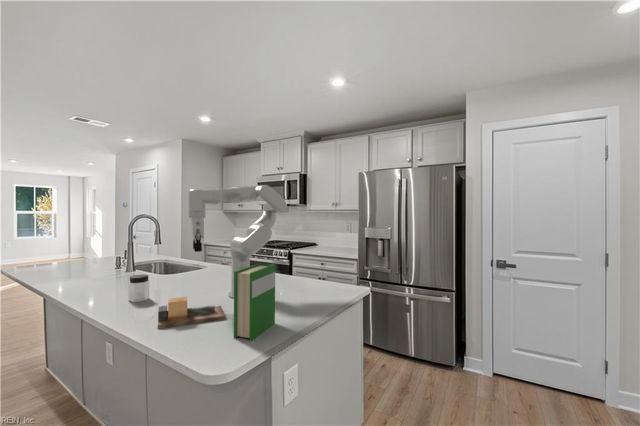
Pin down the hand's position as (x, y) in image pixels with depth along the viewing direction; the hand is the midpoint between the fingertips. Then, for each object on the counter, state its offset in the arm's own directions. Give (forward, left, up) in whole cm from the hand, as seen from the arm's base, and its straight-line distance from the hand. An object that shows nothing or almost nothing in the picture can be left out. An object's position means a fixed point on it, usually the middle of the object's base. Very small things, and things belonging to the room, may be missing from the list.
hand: (197, 250), depth 146 cm
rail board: (+3, +20, -26) cm, 33 cm away
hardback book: (-18, +43, -26) cm, 54 cm away
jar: (+26, -18, -26) cm, 41 cm away
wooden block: (+9, +20, -25) cm, 33 cm away
